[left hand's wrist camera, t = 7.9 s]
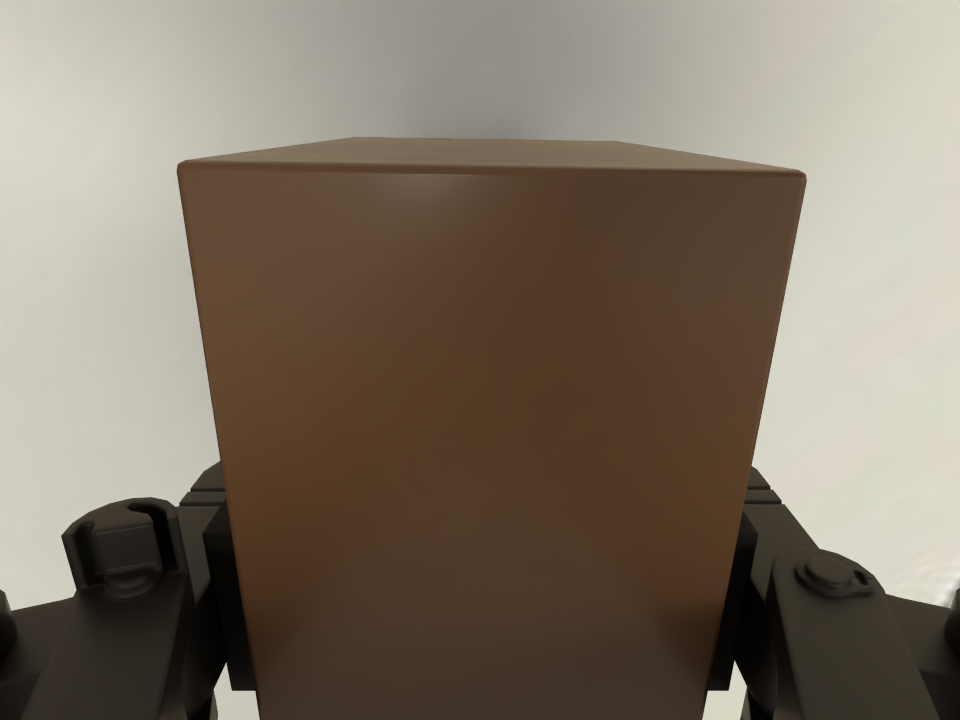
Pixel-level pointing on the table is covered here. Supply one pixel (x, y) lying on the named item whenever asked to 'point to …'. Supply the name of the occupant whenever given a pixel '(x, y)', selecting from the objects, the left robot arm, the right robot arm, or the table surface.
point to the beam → (486, 416)
